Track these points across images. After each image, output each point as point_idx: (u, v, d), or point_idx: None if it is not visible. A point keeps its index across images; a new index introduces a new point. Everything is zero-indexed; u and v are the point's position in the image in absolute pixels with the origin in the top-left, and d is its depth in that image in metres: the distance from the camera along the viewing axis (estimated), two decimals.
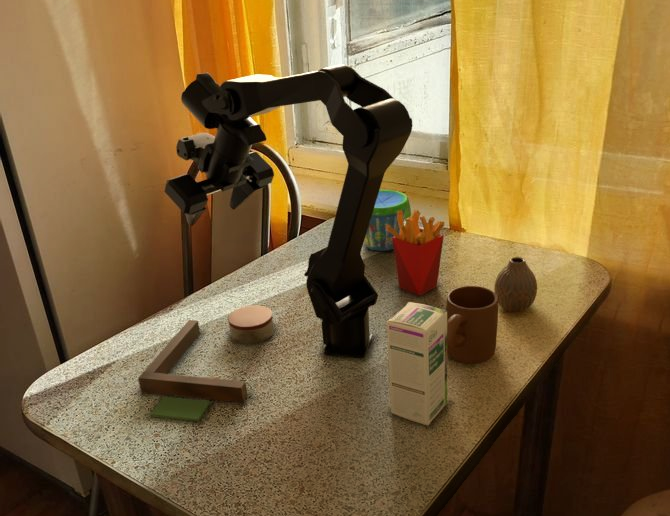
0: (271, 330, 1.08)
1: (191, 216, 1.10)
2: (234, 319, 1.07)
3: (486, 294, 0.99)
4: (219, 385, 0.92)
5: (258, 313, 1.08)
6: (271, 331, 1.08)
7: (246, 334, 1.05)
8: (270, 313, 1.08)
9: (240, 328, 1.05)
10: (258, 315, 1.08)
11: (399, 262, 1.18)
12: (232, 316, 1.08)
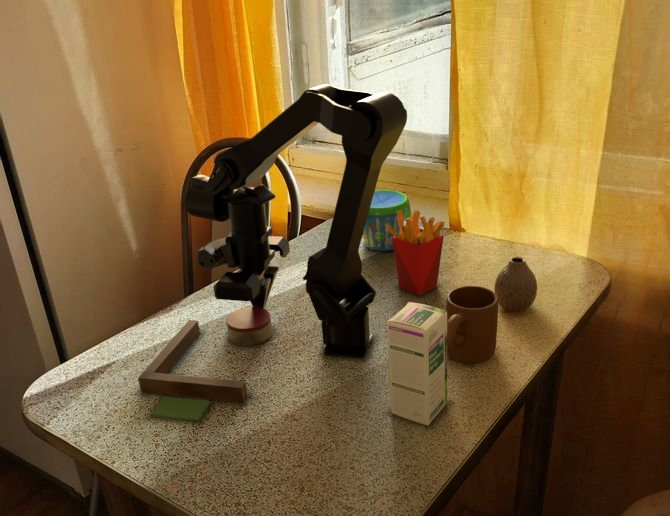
0: (270, 332, 1.07)
1: (260, 298, 1.09)
2: (232, 321, 1.06)
3: (486, 294, 0.99)
4: (219, 385, 0.92)
5: (256, 315, 1.08)
6: (270, 333, 1.07)
7: (244, 336, 1.05)
8: (269, 315, 1.08)
9: (238, 330, 1.05)
10: (256, 317, 1.07)
11: (399, 262, 1.18)
12: (230, 318, 1.07)
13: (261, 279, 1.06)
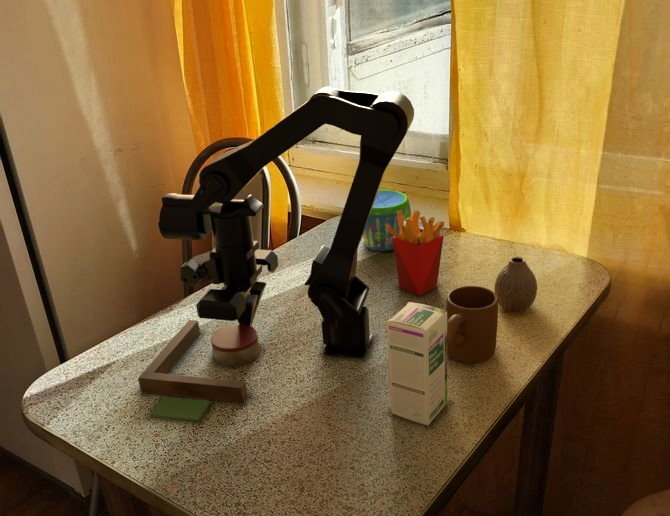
0: (257, 351, 1.02)
1: (246, 315, 1.04)
2: (217, 340, 1.01)
3: (486, 294, 0.99)
4: (219, 385, 0.92)
5: (243, 333, 1.03)
6: (257, 352, 1.03)
7: (230, 356, 1.00)
8: (256, 333, 1.03)
9: (224, 350, 1.00)
10: (243, 335, 1.02)
11: (399, 262, 1.18)
12: (215, 337, 1.02)
13: (247, 296, 1.01)
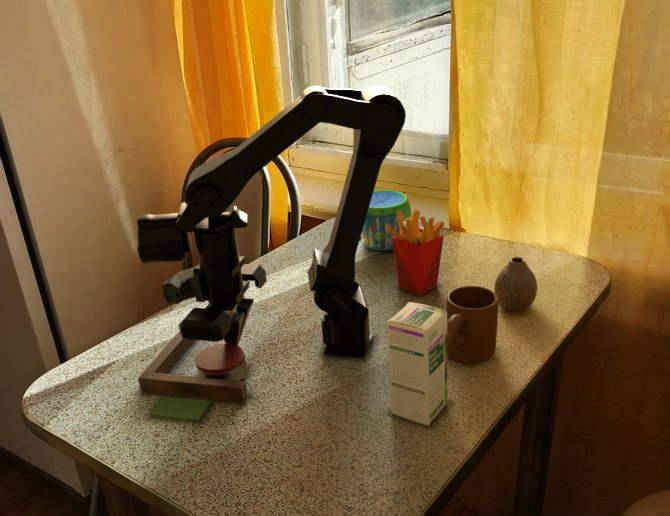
0: (243, 372, 0.98)
1: (232, 334, 0.99)
2: (202, 360, 0.97)
3: (486, 294, 0.99)
4: (219, 385, 0.92)
5: (229, 353, 0.98)
6: (243, 373, 0.98)
7: (215, 377, 0.95)
8: (243, 353, 0.98)
9: (208, 371, 0.95)
10: (229, 355, 0.97)
11: (399, 262, 1.18)
12: (200, 357, 0.97)
13: (233, 314, 0.96)
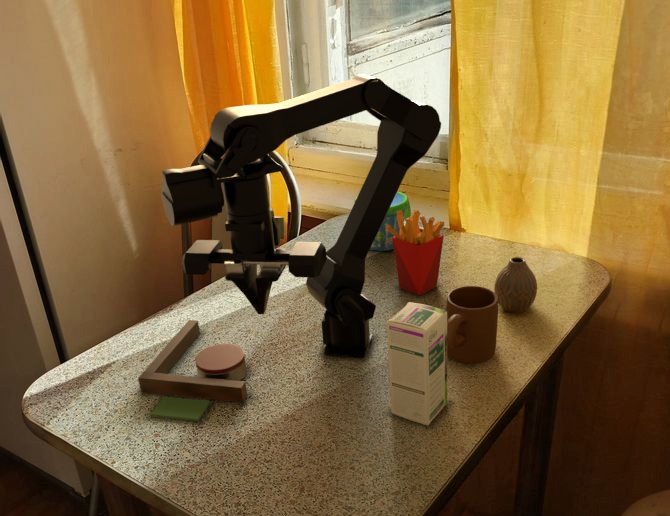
0: (243, 372, 0.98)
1: None
2: (202, 361, 0.97)
3: (486, 294, 0.99)
4: (219, 385, 0.92)
5: (229, 353, 0.98)
6: (243, 373, 0.98)
7: (215, 378, 0.95)
8: (242, 353, 0.98)
9: (208, 371, 0.95)
10: (229, 356, 0.97)
11: (399, 262, 1.18)
12: (200, 357, 0.97)
13: (233, 270, 0.90)
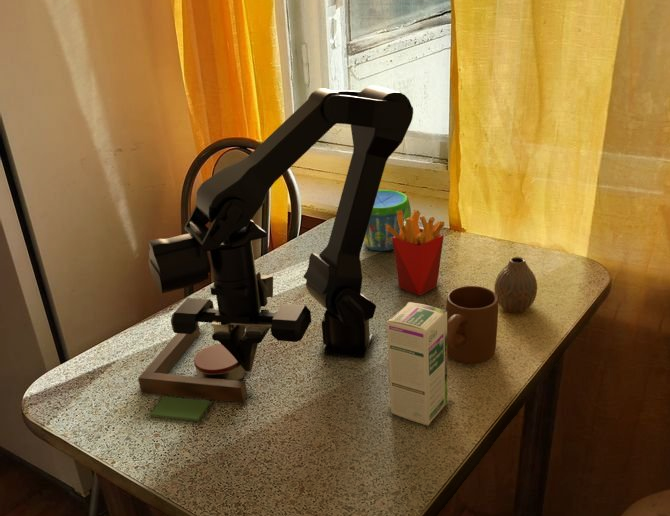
0: (242, 372, 0.98)
1: None
2: (201, 360, 0.97)
3: (486, 294, 0.99)
4: (219, 385, 0.92)
5: (228, 353, 0.98)
6: (242, 373, 0.98)
7: (214, 377, 0.95)
8: None
9: (207, 371, 0.95)
10: (228, 355, 0.97)
11: (399, 262, 1.18)
12: (199, 357, 0.97)
13: (220, 331, 0.92)
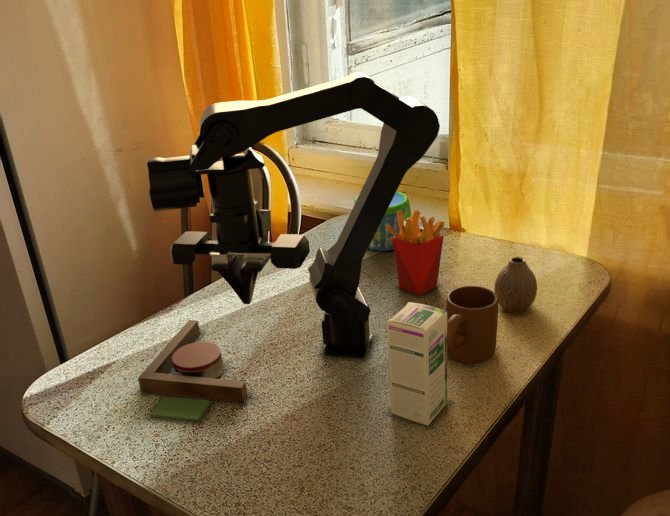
0: (220, 369, 0.98)
1: None
2: (179, 358, 0.97)
3: (486, 294, 0.99)
4: (219, 385, 0.92)
5: (205, 351, 0.99)
6: (220, 371, 0.98)
7: (191, 375, 0.96)
8: (219, 351, 0.99)
9: (184, 369, 0.95)
10: (205, 353, 0.98)
11: (399, 262, 1.18)
12: (177, 355, 0.98)
13: (218, 261, 0.93)
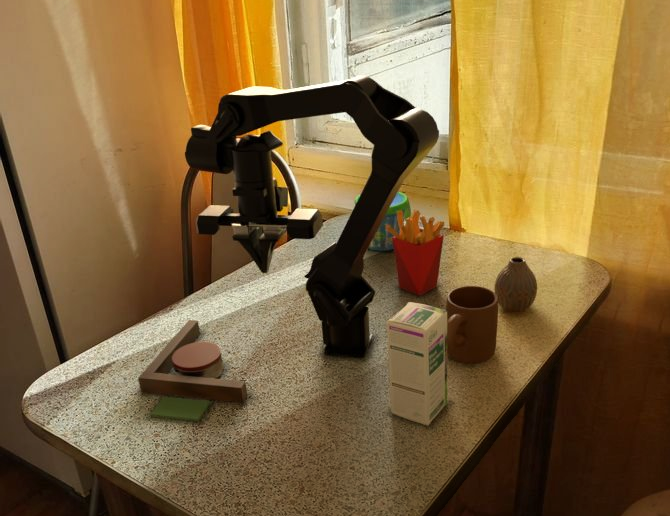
0: (220, 369, 0.98)
1: None
2: (179, 358, 0.97)
3: (486, 294, 0.99)
4: (219, 385, 0.92)
5: (205, 351, 0.99)
6: (220, 371, 0.98)
7: (191, 375, 0.96)
8: (219, 351, 0.99)
9: (184, 369, 0.95)
10: (205, 353, 0.98)
11: (399, 262, 1.18)
12: (177, 355, 0.98)
13: (239, 232, 1.01)
